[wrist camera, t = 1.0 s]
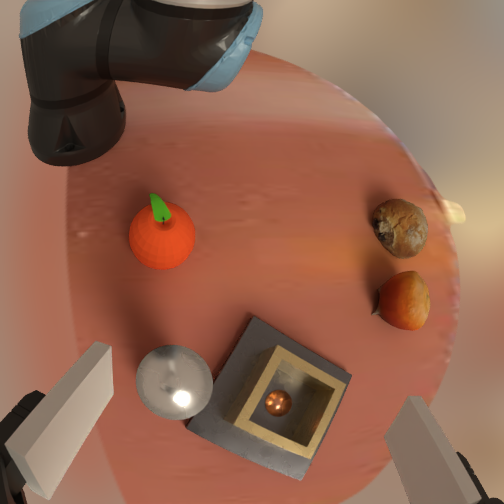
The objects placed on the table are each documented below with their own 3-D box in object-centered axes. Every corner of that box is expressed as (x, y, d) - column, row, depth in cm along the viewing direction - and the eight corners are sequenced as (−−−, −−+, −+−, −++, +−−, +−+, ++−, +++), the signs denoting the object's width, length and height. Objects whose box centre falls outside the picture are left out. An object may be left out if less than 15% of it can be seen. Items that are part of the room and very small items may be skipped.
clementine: (120, 225, 33) (116, 189, 27) (175, 208, 36) (181, 172, 30) (142, 287, 31) (139, 262, 25) (200, 267, 34) (212, 239, 28)
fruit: (365, 267, 40) (421, 256, 34) (383, 289, 44) (432, 281, 39) (362, 324, 36) (423, 317, 31) (381, 339, 41) (433, 334, 35)
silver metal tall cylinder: (135, 387, 26) (119, 391, 14) (158, 351, 29) (161, 327, 17) (174, 413, 27) (189, 435, 15) (197, 376, 29) (228, 371, 17)
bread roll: (393, 274, 48) (436, 265, 42) (366, 241, 43) (415, 228, 37) (394, 227, 53) (432, 216, 47) (368, 192, 47) (411, 177, 42)
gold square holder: (185, 427, 26) (191, 434, 22) (251, 317, 33) (267, 306, 29) (297, 478, 27) (319, 489, 22) (347, 375, 34) (373, 371, 29)
